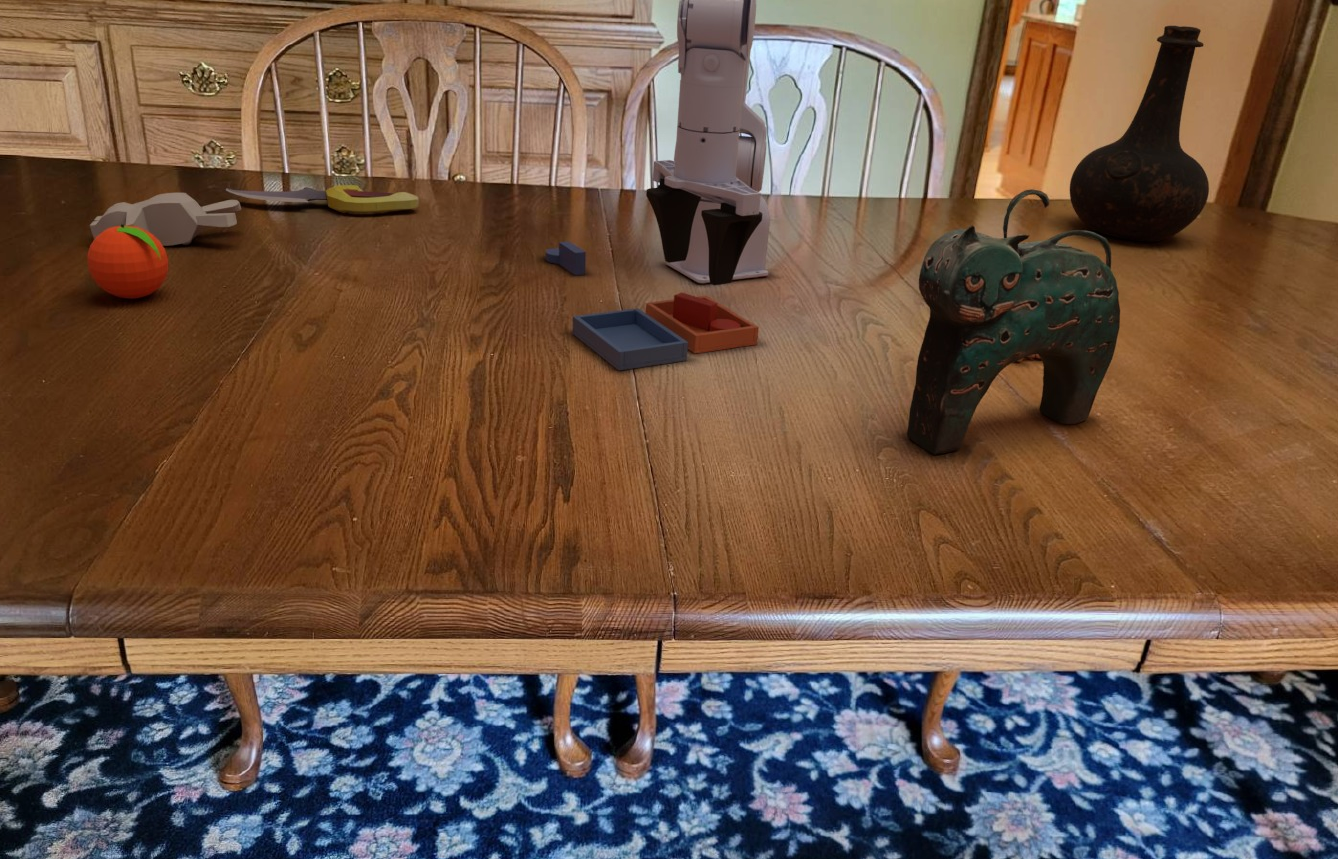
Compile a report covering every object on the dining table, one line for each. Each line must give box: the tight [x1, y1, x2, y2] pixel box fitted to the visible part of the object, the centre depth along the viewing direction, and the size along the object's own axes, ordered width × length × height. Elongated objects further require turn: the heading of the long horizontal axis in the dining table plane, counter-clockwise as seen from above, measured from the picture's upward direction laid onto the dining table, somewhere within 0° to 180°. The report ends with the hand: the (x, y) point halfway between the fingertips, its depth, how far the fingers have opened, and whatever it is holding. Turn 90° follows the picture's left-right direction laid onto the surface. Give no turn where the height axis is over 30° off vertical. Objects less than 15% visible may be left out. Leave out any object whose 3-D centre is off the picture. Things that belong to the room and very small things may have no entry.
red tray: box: [645, 295, 760, 354], centre depth 103 cm, size 7×10×2 cm
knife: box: [225, 184, 420, 214], centre depth 136 cm, size 8×3×25 cm
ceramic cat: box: [906, 188, 1121, 456], centre depth 82 cm, size 20×6×20 cm, turn 117°
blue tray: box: [572, 307, 688, 372], centre depth 98 cm, size 7×10×2 cm
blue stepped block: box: [545, 241, 587, 276], centre depth 120 cm, size 7×3×3 cm, turn 29°
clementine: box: [87, 224, 169, 300], centre depth 100 cm, size 8×7×7 cm
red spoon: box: [673, 292, 741, 332], centre depth 103 cm, size 7×3×3 cm, turn 53°
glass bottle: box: [1069, 25, 1210, 243], centre depth 145 cm, size 18×18×28 cm
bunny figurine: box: [89, 192, 242, 247], centre depth 118 cm, size 10×5×15 cm
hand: (697, 271), depth 102 cm, fingers open, 7 cm apart
